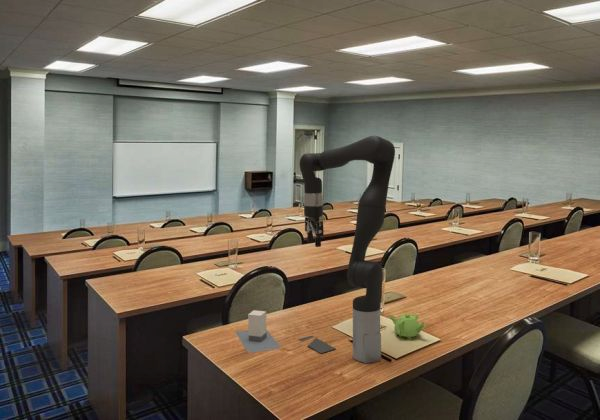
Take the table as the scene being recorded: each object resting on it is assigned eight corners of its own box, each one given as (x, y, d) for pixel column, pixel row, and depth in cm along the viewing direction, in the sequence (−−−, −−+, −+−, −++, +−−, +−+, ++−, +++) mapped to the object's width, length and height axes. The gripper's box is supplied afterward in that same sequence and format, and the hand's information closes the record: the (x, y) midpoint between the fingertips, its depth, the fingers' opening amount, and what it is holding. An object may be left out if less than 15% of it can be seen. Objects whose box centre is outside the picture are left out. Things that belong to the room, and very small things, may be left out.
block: (260, 315, 173) (261, 342, 174) (266, 311, 178) (266, 337, 179) (248, 314, 175) (248, 340, 176) (253, 310, 180) (254, 335, 181)
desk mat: (281, 349, 169) (281, 347, 169) (248, 354, 165) (248, 353, 165) (264, 328, 189) (264, 327, 189) (235, 333, 185) (235, 331, 185)
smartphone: (320, 353, 164) (296, 339, 176) (320, 355, 164) (297, 341, 176) (336, 348, 168) (312, 335, 180) (336, 351, 168) (312, 337, 180)
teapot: (395, 341, 174) (395, 319, 173) (389, 330, 185) (389, 309, 185) (426, 341, 174) (426, 318, 173) (417, 329, 186) (417, 308, 185)
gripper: (298, 203, 192) (299, 242, 194) (310, 206, 179) (311, 248, 181) (315, 202, 195) (316, 241, 197) (329, 205, 181) (329, 247, 183)
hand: (314, 244), depth 189 cm, fingers open, 8 cm apart
